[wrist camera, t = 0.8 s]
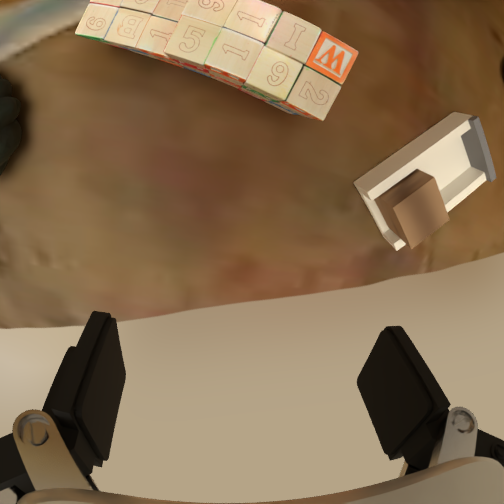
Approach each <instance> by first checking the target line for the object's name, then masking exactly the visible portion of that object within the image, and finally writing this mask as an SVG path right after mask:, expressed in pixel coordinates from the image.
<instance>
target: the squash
mask: <svg viewBox="0 0 504 504" xmlns="http://www.w3.org/2000/svg"><path fill="white" fill-rule="evenodd" d="M11 95H12V86H11V84H10V82H9V81H8V80H6V79H2V77H1V75H0V175H1V174H2V172H3V170H4V169H5V167H6V165H7V162H8V159H9V157H10V156H11V155H12V154H13V152H14V151H15V149H16V148H17V147H18V145H19V143H20V141H21V136H22V131H21V127H20V124H19V122H18V121H17V120H16V117H17V116H18V114H19V112H20V109H21V102H20V101H19V100H18V99H16V98H14V97H11Z"/></svg>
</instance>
